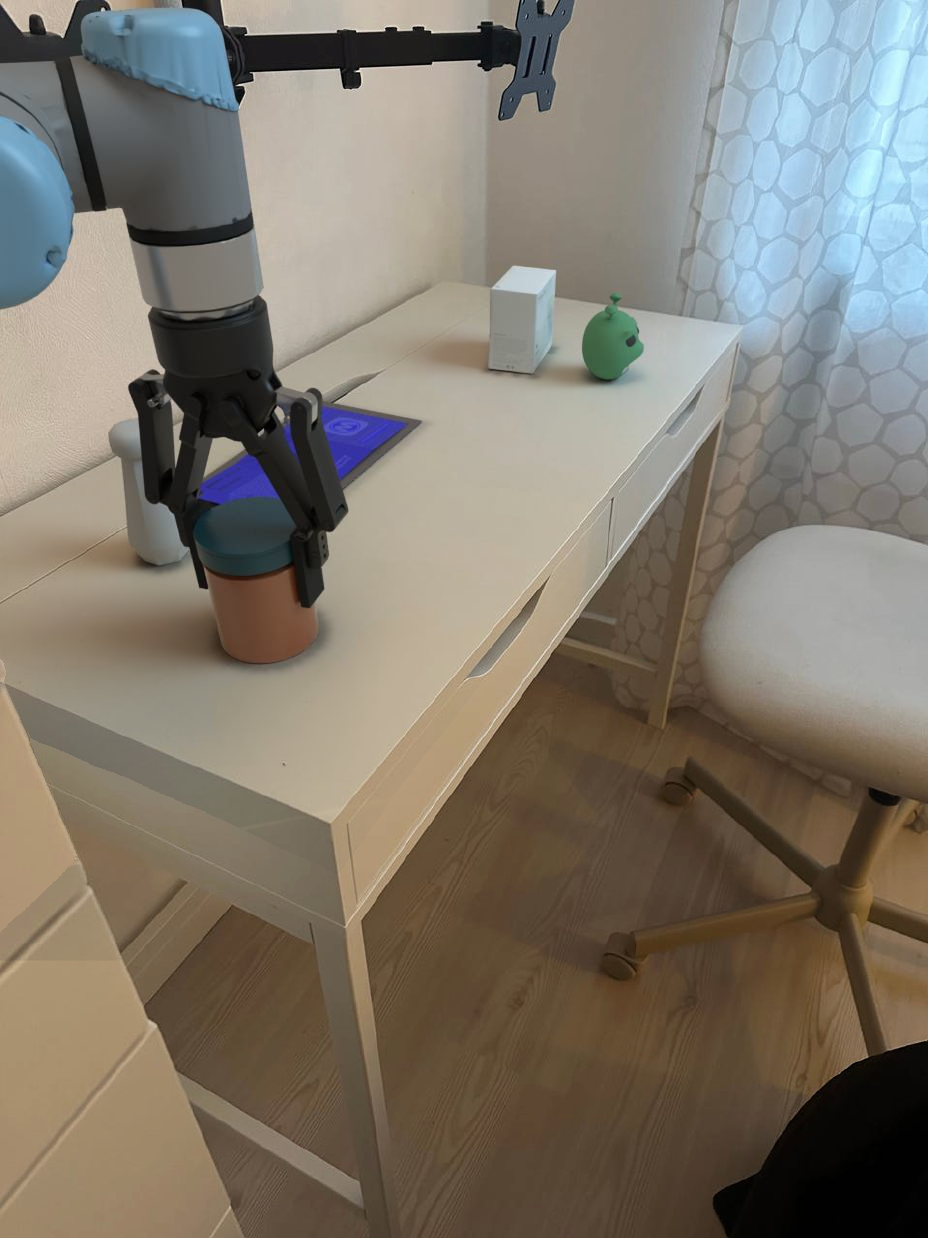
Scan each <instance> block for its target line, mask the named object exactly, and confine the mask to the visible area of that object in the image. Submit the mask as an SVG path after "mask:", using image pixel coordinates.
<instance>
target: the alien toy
mask: <svg viewBox="0 0 928 1238" xmlns="http://www.w3.org/2000/svg"><path fill="white" fill-rule="evenodd" d="M622 299H623V296H622V295H621V293H618V292H613V293H612V294H610V295H609V300H611V301H612V303H613V304H608V305H606V306H605V307H604V310H602V311H599V312H598V313H596V314H595V315H593V317H592V318H591V319H590V320H589V322H587V325H586V327H585V329H584V332H583V335H582V341H581V353H582V360H583V362H584V364H585V367H586V368H587V369H588V370H589V372H590V373H591V374H593V376H595V377H597V378H599V379H602V380H614V379H618V378H620V377H622V376H623V375H625V374H626V373H627V372H628V371H629V367H630V365H631V364H632V363H633V362H634V361H636V360H637V359H638V358H640V357H641V356H642V355H643V353H644V349H645V344H644V343H643V342H642V341H640V338H639V334H640V329H639V327H638V322H637V320H636V319H635V318H634V316H631V315H629V314H628V313H627V312H625V311H623V310H620V309H619V308H618V302H620V301H621V300H622Z"/></svg>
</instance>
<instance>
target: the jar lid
mask: <svg viewBox="0 0 928 1238" xmlns="http://www.w3.org/2000/svg"><path fill="white" fill-rule="evenodd" d="M295 529H296V525H295V523H294V521H293V520H292V518H291V516H290V515H289V513H288V511H287V510H286V508H285V506H284V505H283V503H282V501H281V500H280V499H279V498H274V497H247V498H241V499H236V500H232V501H229V502H226V503H223V504H220V505H218V506H216V507H214V508H212V509H210V510H209V511H207V512H206V513H205V514H203V515H202V516H201V517H200V518H199V519H198V521H197V522H196V524H195V526H194V530H193V535H194V539H195V543H196V548H197V552H198V556H199V559H200V560H201V562H202V563H203V564H204V565H205V566H206V567H208V568H209V569H211V570H213V571H216V572H219V573H223V574H228V575H238V576H245V575H256V574H262V573H266V572H270V571H273V570H276V569H279V568H281V567H283V566H285V565H287V564H289V563H291V562H292V561H294V560H293V554H292V548H291V542H290V534H291V533H292V532H293V531H294V530H295Z"/></svg>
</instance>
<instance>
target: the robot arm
mask: <svg viewBox="0 0 928 1238" xmlns="http://www.w3.org/2000/svg"><path fill="white" fill-rule="evenodd" d="M80 33H81V39H82V43H81V45H80V48H81V53H82V55H74V56H69V58H59V59H55V60H50V61H49V60H47V61H26V62H25V61H23V62H0V310H6V309H10V308H15V307H17V306H20V305H22V304H25V303H28V302H30V301H31V300H33V299H34V298H36V297H38V296H39V295H40V294H42V293H43V292H44V291H45V290H46V289H48V287H49V286H50V285H51V284H52V283H53V281H55V279H56V278H57V277H58V275H59V274H60V271H61V270H62V269H63V266H64V264H65V263H66V262H67V259H68V252H69V247H70V246H71V244H72V243H71V242H72V239H73V236H74V232H75V231H74V225H73V224H74V223H73V221H74V216H75V214H81V213H82V214H83V213H91V212H92V213H93V212H95V213H97V212H105V211H106V212H107V211H108V210H111V209H121V210H122V213H123V215H124V218H125V221H126V222H125V225H126V229H127V233H128V238H129V243H130V246H131V251H132V257H133V261H134V265H135V269H136V270H135V271H136V273H137V274H136V275H137V279H138V283H139V287H140V292H141V296H142V299H143V301H144V302H145V304H147V305H148V306H150V307H151V308H150V310H149V312H148V314H147V319H148V322H149V327H150V331H151V332H150V333H151V336H152V340H153V345H154V349H155V353H156V358H157V360H158V363H159V365H160V367H162V368H163V369H164V373H162V374H161V372H159V371H158V370H157V369H154V368H151V369H149V370H147V371H146V372H144V373H143V374H142V375H140V376H138V377H137V378H135V379H134V380H132V381H131V382H130V383H129V384H128V385H127V389H128V390H127V391H128V392H129V393H128V394H129V396H130V398H131V401H132V404H133V405H134V408H135V410H136V413H137V418H138V422H139V433H140V445H141V456H142V468H143V480H144V491H145V498H146V499H147V501H148V502H149V503H151V504H158V503H161V504H163V505H166V506H167V507H168V509H169V510H170V512H171V513H173V514H174V517H175V521H176V525H177V529H178V533H179V537H180V541H181V542H182V544H183V546H184V547H189V552H190V557H191V560H192V564H193V565H192V566H193V569H194V573H195V576H196V581H197V584H198V588H199V589H203V590H208V586H207V581H206V577H205V573H204V569H203V565H202V562H201V560H200V559H199V556H198V552H197V548H196V543H195V539H194V535H193V530H194V526H195V524H196V522H197V521H198V519H199V518H200V517H201V516H202V515H203V514H205V513H206V512H207V511H209V510H210V509H211V507H210V503H209V502H207V501H200V502H199V503H198V504H196V500H197V499H198V498H199V497H200V496H201V495H202V494H203V491H202V492H201V493H200V491H201V490H200V489H201V485H202V481H203V478H204V477H205V474H206V473H205V472H206V468H207V464H208V460H209V457H210V452H211V448H212V444H213V440H214V439H221V438H226V439H228V440H230V441H234V442H238V443H241V444H242V446H243V448H244V450H246V451H247V453H248V454H249V455H250V456H253V457H255V458H256V459H257V461H258V462H259V464H260V466H261V467H262V469H263V471H264V472H265V474H266V476H267V478H268V479H269V481H270V483H271V484H272V486H273V488H274V489H275V491H276V493H277V494H278V496H279V498H280V500H281V501H282V503H283V505H284V506H285V508H286V510H287V511H288V513H289V515H290V516H291V518H292V520H293V521H294V523H295V525H296V529H295V530H294V531H293V532H292V533H291V534H290V542H291V548H292V554H293V560H294V566H295V573H296V579H297V585H298V591H299V597H300V603H301V607H304V608H311V606H312V605H313V604H314V602H315V603H316V601H317V600H318V599H319V598H320V596H321V595H322V593H323V592H324V591H325V589H326V588H325V582H324V575H323V574H324V573H323V566H324V565H325V564H326V563H327V561H328V560H329V557H330V551H329V544H328V543H329V542H328V536H327V535H328V534H327V533H332V532H334V531H335V529H336V528H337V527H338V526H339V525H340V524H341V522H342V521H343V520H344V518H345V517H346V516H347V515H348V514H349V505H348V503H347V500H346V496H345V493H344V488H343V489H342V486H341V483H340V479H339V476H338V473H337V469H336V466H335V463H334V459H333V456H332V453H331V450H330V446H329V443H328V440H327V436H326V433H325V430H324V426H323V423H322V401H324V400H323V398H324V397H323V393H322V392H321V391H320V390H319V389H318V388H316V387H309V388H308V389H307V390H306V391H305V392H302V391H301V390H296V389H293V388H288V387H285V386H283V383H282V381H281V380H280V378H279V376H278V375H277V372H276V370H275V368H274V343H273V336H272V329H271V323H270V316H269V309H268V304H267V301H266V300H265V299H264V298H263V297H262V296H261V295H260V294H261V293H262V292H263V290H264V282H263V281H264V280H263V274H262V267H261V260H260V254H259V247H258V239H257V232H256V227H255V223H254V222H255V221H254V215H253V209H252V202H251V194H250V187H249V180H248V179H249V178H248V173H247V166H246V158H245V150H244V145H243V144H244V143H243V137H242V136H243V135H242V130H241V123H240V116H239V112H240V105H239V104H240V103H239V102H238V101H237V99H236V95H235V89H234V85H233V81H232V80H233V79H232V76H231V70H230V65H229V60H228V56H227V51H226V50H227V49H226V46H225V39H224V35H223V31H222V30H221V28H220V25H219V24H218V23H217V22H216V21H215V20H214V18H213V17H212V16H211V15H209V14H208V13H206V12H204V11H202V10H200V9H196V8H189V7H145V8H144V7H143V8H130V9H129V8H128V9H127V8H126V9H124V10H122V9H120V10H111V9H110V10H100V11H94V12H91V13H89V14H86V15H85V16H84V17H83V18H82V20H81V24H80ZM171 400H172V401H173V402H174V403H175V404H176V406H177V407H178V408H179V409H180V411H181V412H182V413H183V416H182V420H181V426H180V431H179V436H178V440H179V442H180V446H179V450H178V455H177V459H176V453H175V437H174V419H173V418H174V417H173V416H174V415H173V407H172V401H171ZM277 407H279V408H280V409H281V410H282V413H283V416H284V418H283V423H284V422H285V423H286V424H287V425H290V431H291V437H292V441H293V444H294V447H295V450H296V453H297V456H298V459H299V462H298V461H297V459H296V457H295V455H294V454H293V452H292V450H291V448H290V447H289V445H288V443H287V441H286V440H285V437H284V435H285V430H284V427H283V426H282V422H281V421H280V418H279V417H278V415H277V413H276V409H277ZM262 431H263V432H262ZM261 432H262V433H261ZM259 433H261V435H259ZM299 463H300V464H299ZM199 493H200V494H199ZM208 591H209V590H208Z"/></svg>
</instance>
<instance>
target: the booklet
mask: <svg viewBox="0 0 928 1238" xmlns="http://www.w3.org/2000/svg"><path fill="white" fill-rule="evenodd" d="M349 415H350V414H349V413H341V412H340V411H331V410H330V409H322V423H323V426H324V430H325V433H326V436H327V440H328V443H329V446H330V450H331V453H332V456H333V459H334V463H335V466H336V469H337V473H338V476H339V479H340V480H341V479H343V478H344V477H345V476H346V475H347V474H348V473H349V472H350V471H351V470H353V469H354V468H355V467H356V466H357V465H358V464H359V463H360V462H361V461H362V460H364V459H365V458H366V457H367V456H368V455H369V454H370V453H371V452H372V451H374V450H375V449H376V448H378V447H379V446H380V445H382V444H383V443H384V442H386V441H387V440H388V439H390V438H391V437H393V436H394V435H395V434H397V433H398V432H399V431H401V430H402V429H403V428H404V427H403V426H402V424H401V423H388V422H387V421H377V420H376V419H375V418H362V417H361V416H349ZM284 430H285V435H284V437H285V440H286V441H287V443H288V445H289V447H290V448H291V450H292V452H293V454H294V455H295V457H296V459H297V461H298V462H299V459H298V456H297V453H296V450H295V447H294V444H293V441H292V437H291V431H290V425H285V426H284ZM200 490H201V491H200V493H201V492H202V491H203V494H202V495H201V496H200V497H199V498H198V499H199V500H201V501H207V502H211V503H215V504H219V505H220V504H223V503H226V502H229V501H232V500H236V499H241V498H247V497H274V498H279V496H278V494H277V493H276V491H275V489H274V488H273V486H272V484H271V483H270V481H269V479H268V478H267V476H266V474H265V472H264V471H263V469H262V467H261V466H260V464H259V462H258V461H257V459H256V458H255V457H253V456H250V455H249V454H246V455H245V456H244V457H242V458H241V459H240V460H238V461H237V462H236V463H234V464H233V465H231V466H229V467H227V468H226V469H224V470H222V471H221V472H219V473H217V474H216V475H214V476H212V477H210V478H209V479H207V480H205V481H204V482H202V485H201V489H200ZM200 493H199V494H200ZM279 499H280V498H279Z"/></svg>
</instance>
